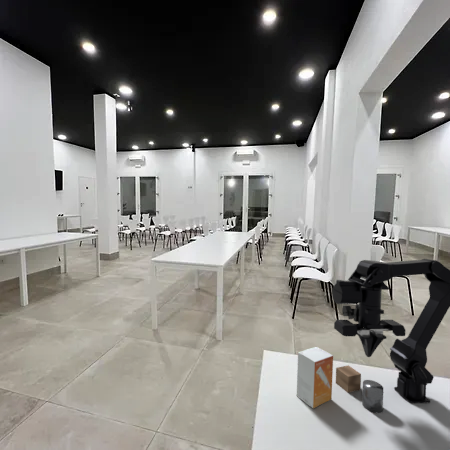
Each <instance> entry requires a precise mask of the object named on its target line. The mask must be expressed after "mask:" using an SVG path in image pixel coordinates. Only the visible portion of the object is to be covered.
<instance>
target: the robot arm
mask: <svg viewBox="0 0 450 450" xmlns="http://www.w3.org/2000/svg"><path fill="white" fill-rule="evenodd" d="M416 275H424V278H425V279H426V280H427V281H428V282H429V286H428V292H429V298H428V300H427V302H426V304H425V306H424V307H423V309H422V311H421V312H420V315H418V318H417V319H416V321H415V323H414V325H413V326H412V329H411V330H410V332H409V334H408V335H407V337H406V328H405V326H404V325H403V324H402V323H399V322H397V321H395V320H393V319H381V317H382V315H385V310H384V309H382V290H383V291H389V290H390V287H389V286H388V285H386V284H385V282H387V281H390V280H391V279H392V278H396V277H406V276H416ZM331 294H332V299H333V301H334V303H335V304H336V305H342V315H343V317H347V318H348V319H336V320H335V321H334V324H333V329H334V330H335V331H337V332H338V333H339V334H340V335H342V336H343V337H356V336H358V338H359V340H360V343H361V346H362V348H363V352H364V355H365V356H366V357H367V358H370V357H372V356H373V354H374V353H375V351H376V350H377V348H378V347H379V345H381V343H382V342H383V341H384V340H387V336H386V335H385V334H384V331H385V332H389V331H390V332H391V331H392V334H393V335H394V336H395V337H406V338H403V339H402V340H401V339H399V338H396V339H395V340H394V342H393V345H392V346H391V347H390V348H389V350H390V352H389V357H390V360H391V361H392V363H393V365H394V368H395V369H397V370H398V377H397V379H396V386H395V387H393V389H394V391H396V392H397V393H398V394H400V395H401V397H402V398H404V399H405V400H406V401H407V402H409V403H410V404H413V403H414V404H415V403H416V404H417V403H418V404H419V403H420V404H421V403H423V404H424V403H431V399H429V398H428V397H427V386H428V385H429V384H432V383H433V379H434V377H435V376H434V375H433V374H432V373H431V372H430V371H429V370H428V369H427V368H426V366H427V364H428V356H427V355H428V352H427V348H428V346H429V345H430V342H431V340H432V339H433V337H434V335H435V334H436V332H437V330H438V328H439V326H440V325H441V323H442V321H443V319H444V317H445V316H446V314H447V312H448V310H449V309H450V269H449V268H447V267H446V266H444V265H443V264H442V263H441V262H440V261H438V260H435V259H430V258H422V259H416V260H415V259H414V260H403V261H391V262H386V261H385V262H384V261H377V260H368V259H362V260H360V261H359V262H358V263H357V266H356V268H355V269H354V271H353V272H352V273H351V275H350V276H349V278H348V279H347V280H342V279H336V283H335V284H334V285H333V287H332V289H331ZM351 305H355V308H352V306H351ZM350 320H353V321H354V322H355V323H353V322H351V321H350Z"/></svg>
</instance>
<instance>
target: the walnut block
mask: <svg viewBox="0 0 450 450" xmlns="http://www.w3.org/2000/svg"><path fill="white" fill-rule="evenodd" d="M335 384H336V385H337V386H339V387H340V388H341V389H342V390H344V391H345V392H346V393H347V394H348V393H349V394H351V393H353V392H357V391H362V390H361V388H362V387H361V386H362V385H361V384H362V373H360V372H359V371H357V370H356V369H355V368H354V367H352V366H350V365H349V364H348V365H343V366H338V367H336V368H335Z"/></svg>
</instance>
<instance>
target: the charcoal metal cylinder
mask: <svg viewBox="0 0 450 450" xmlns="http://www.w3.org/2000/svg"><path fill="white" fill-rule="evenodd" d="M361 396H362V397H361V398H362V399H361V400H362V401H361V403H362V407H363V408H364V409H365V410H366V411H368V412H369V413H370V412H371V413H374V414H381V413H383V409H384V408H383V407H384V386H383V385H382V384H381V383H380V382H378V381H375V380H371V379H364V380H363V381H362V394H361Z"/></svg>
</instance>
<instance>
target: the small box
mask: <svg viewBox="0 0 450 450" xmlns="http://www.w3.org/2000/svg"><path fill="white" fill-rule="evenodd" d="M333 368H334V355H333V354H331V353H330V352H328V351H326V350H323V349H322V348H319V347H318V346H314V347H311V348H307V349H304V350H301V351H299V352H297V371H296V372H297V374H296V375H297V377H296V379H297V380H296V396H297V397H298V398H299V400H301V401H303V402H304V403H305V404H306V405H308V406H309V407H310V408H311V409H315V408H317V407H319V406H320V405H323V404H325V403H326V402H329V401H332V396H333V375H334V374H333V373H334V371H333Z"/></svg>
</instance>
